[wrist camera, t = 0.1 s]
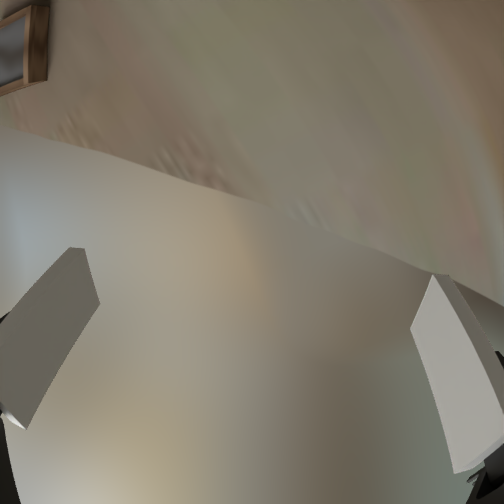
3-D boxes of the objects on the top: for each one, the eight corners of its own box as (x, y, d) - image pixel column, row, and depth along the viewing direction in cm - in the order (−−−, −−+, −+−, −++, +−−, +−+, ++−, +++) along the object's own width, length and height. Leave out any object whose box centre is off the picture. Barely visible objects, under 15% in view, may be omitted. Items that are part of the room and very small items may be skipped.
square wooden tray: (-1, 31, 26) (-18, 32, 22) (49, 7, 25) (31, 4, 22) (-1, 96, 32) (-19, 101, 28) (47, 80, 31) (28, 83, 28)
